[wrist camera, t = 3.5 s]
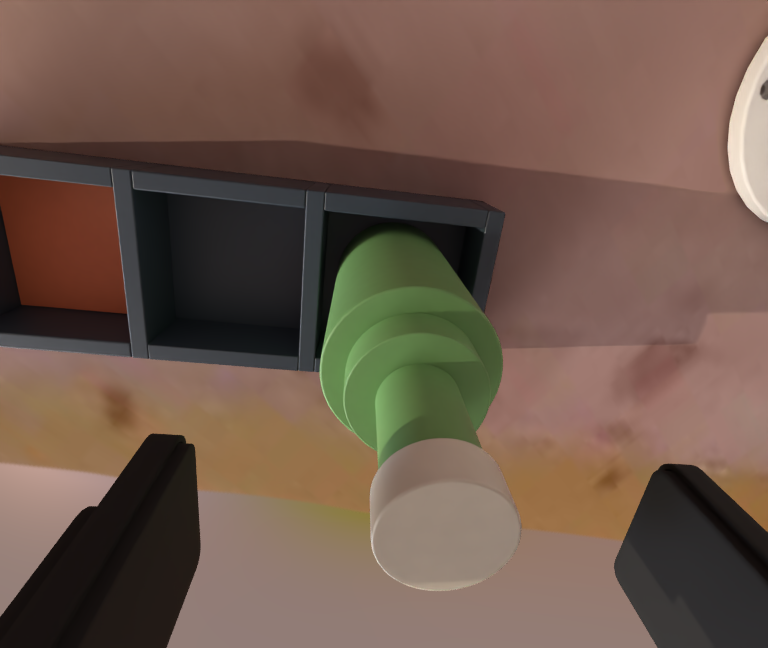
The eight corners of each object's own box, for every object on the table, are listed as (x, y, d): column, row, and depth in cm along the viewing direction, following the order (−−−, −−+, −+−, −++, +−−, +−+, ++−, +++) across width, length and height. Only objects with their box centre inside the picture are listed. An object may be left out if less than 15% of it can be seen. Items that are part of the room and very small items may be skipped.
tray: (483, 201, 23) (506, 212, 19) (454, 350, 26) (469, 384, 23) (-21, 142, 21) (-102, 143, 17) (16, 313, 24) (-46, 344, 21)
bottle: (452, 228, 23) (649, 418, 7) (435, 329, 25) (556, 645, 9) (342, 216, 23) (293, 391, 7) (334, 320, 25) (283, 638, 9)
